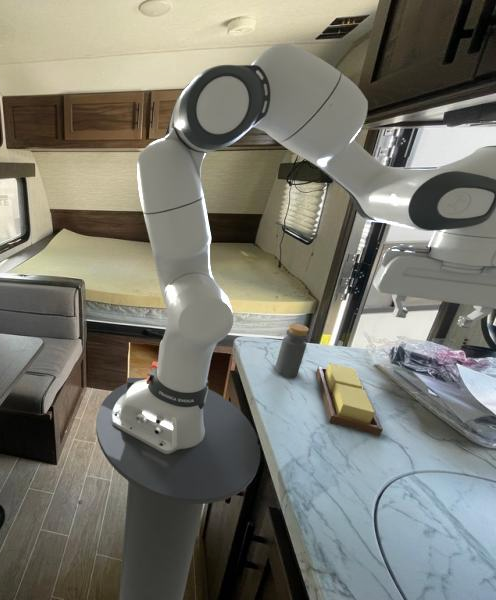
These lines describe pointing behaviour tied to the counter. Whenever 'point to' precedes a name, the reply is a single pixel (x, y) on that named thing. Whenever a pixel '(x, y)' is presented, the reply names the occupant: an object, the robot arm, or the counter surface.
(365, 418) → the foam pad
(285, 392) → the counter surface
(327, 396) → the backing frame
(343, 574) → the counter surface
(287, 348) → the bottle
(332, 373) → the seated pad
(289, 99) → the robot arm
